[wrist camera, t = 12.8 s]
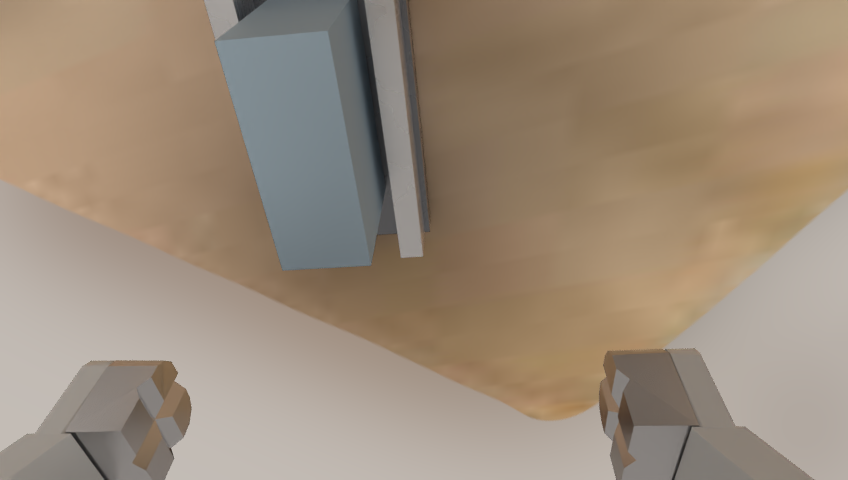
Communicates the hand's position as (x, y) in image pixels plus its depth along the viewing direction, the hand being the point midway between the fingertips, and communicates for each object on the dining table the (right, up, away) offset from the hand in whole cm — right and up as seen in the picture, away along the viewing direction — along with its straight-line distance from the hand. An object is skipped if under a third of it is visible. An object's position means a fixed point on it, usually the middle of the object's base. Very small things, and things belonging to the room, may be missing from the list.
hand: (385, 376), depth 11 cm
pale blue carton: (-4, +9, +17) cm, 20 cm away
